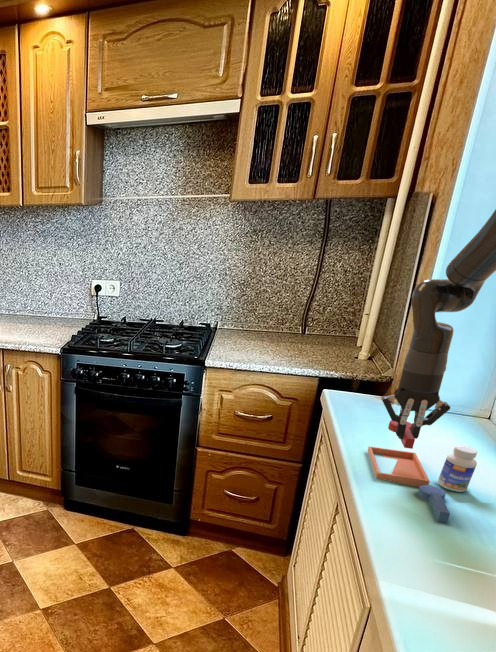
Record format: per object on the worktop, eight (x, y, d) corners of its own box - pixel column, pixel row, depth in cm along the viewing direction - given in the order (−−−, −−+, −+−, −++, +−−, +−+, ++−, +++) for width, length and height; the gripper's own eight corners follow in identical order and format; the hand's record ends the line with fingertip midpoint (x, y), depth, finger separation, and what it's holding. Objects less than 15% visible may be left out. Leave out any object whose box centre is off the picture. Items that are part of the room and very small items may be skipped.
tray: (367, 453, 140) (368, 446, 139) (413, 459, 135) (415, 452, 135) (375, 480, 126) (377, 472, 125) (427, 488, 122) (429, 481, 121)
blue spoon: (415, 490, 121) (417, 481, 121) (440, 494, 119) (443, 485, 119) (428, 519, 110) (431, 510, 109) (456, 525, 108) (459, 515, 107)
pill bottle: (444, 490, 121) (458, 453, 117) (432, 478, 125) (446, 442, 122) (471, 494, 119) (486, 456, 116) (459, 481, 124) (473, 445, 121)
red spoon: (386, 424, 134) (388, 416, 133) (409, 427, 132) (411, 419, 131) (395, 446, 123) (398, 437, 122) (420, 450, 121) (423, 440, 120)
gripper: (456, 367, 119) (437, 437, 125) (384, 361, 125) (369, 428, 131) (466, 377, 113) (445, 449, 119) (390, 370, 118) (373, 440, 124)
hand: (405, 438), depth 125 cm, fingers closed on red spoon, 1 cm apart
